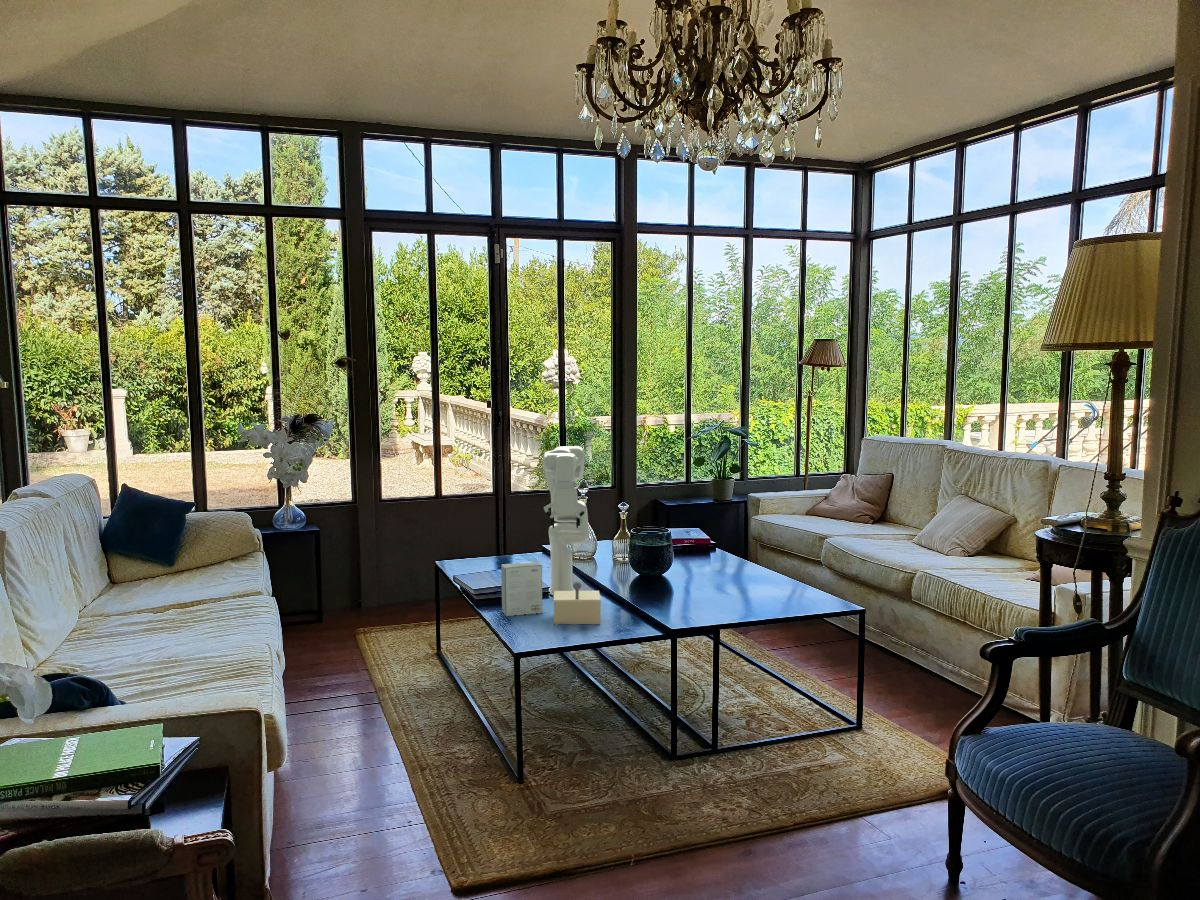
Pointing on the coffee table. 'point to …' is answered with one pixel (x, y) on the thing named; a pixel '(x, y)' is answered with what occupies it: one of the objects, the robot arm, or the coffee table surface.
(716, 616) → the coffee table surface
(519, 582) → the hard drive box
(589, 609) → the carton
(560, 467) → the robot arm
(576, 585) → the carton flap
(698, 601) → the coffee table surface
